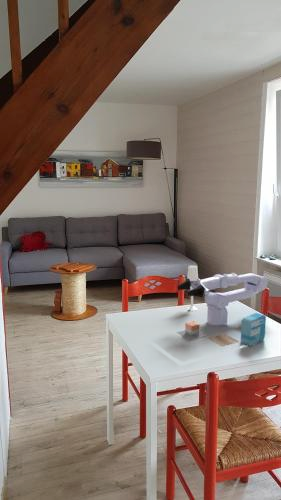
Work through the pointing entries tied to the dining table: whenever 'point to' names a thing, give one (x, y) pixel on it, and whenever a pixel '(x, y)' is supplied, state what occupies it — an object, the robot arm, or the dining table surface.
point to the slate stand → (192, 336)
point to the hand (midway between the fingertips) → (183, 290)
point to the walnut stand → (223, 339)
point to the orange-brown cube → (192, 328)
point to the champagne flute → (192, 276)
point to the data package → (253, 329)
